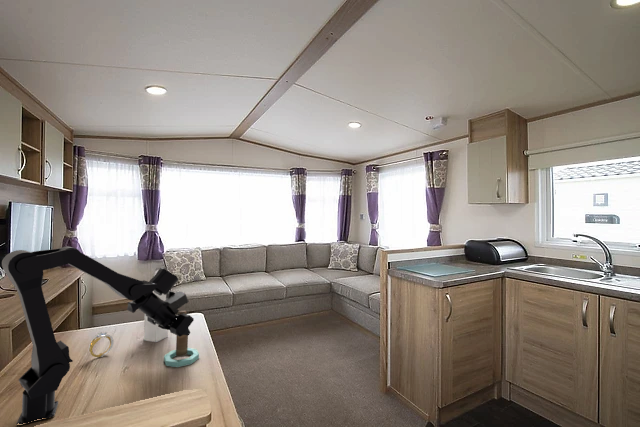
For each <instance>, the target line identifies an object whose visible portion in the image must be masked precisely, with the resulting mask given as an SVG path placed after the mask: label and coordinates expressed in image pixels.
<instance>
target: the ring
mask: <svg viewBox="0 0 640 427" xmlns="http://www.w3.org/2000/svg"><path fill="white" fill-rule="evenodd" d="M103 338H106V339H108V340H109V346H108V348H107V349H106V350H105V351H104V352H100V353H99V354H97V353H96V354H95V353H94V352H93V349H94V347H95V345H96V344H97V343H98V342H99V341H100V340H101V339H103ZM113 346H114V338H113V336H112V335H111V334H107V331H105V332H103V333H102V331H101V332H99V333H98V334H96V335H95V336H93V338H92V339H91V340H90V342H89V345H88V352H89V354H90V356H92V357H94V358H103V357H104V356H106V355H107V354H108V353H109V352H111V350H112V348H113Z"/></svg>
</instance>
